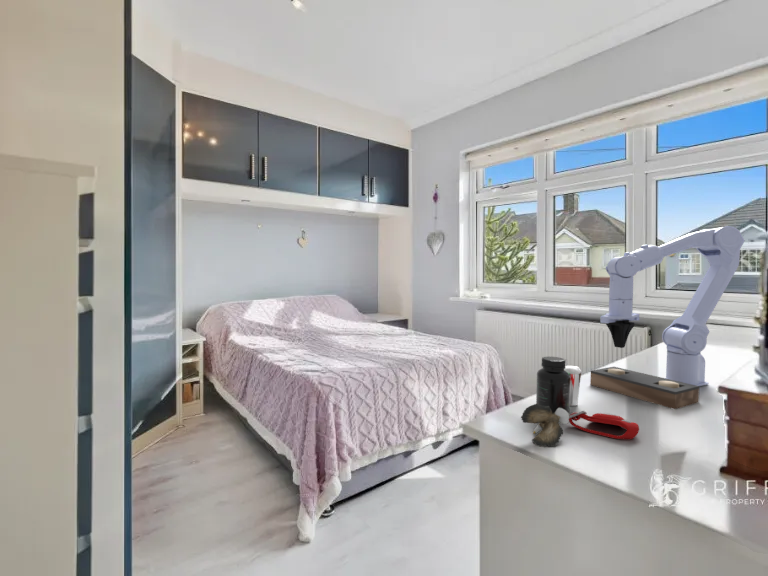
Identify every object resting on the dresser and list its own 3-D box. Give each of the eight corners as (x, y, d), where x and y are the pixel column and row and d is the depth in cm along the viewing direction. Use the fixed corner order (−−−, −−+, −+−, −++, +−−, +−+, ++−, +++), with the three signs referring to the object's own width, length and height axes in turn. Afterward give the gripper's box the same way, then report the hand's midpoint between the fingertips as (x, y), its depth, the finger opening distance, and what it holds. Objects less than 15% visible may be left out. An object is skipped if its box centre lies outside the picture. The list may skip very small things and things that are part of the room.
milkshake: (574, 399, 95) (575, 359, 95) (583, 407, 90) (584, 364, 89) (555, 399, 96) (556, 358, 95) (563, 406, 90) (564, 364, 90)
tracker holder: (605, 413, 84) (650, 419, 74) (605, 435, 83) (651, 443, 73) (560, 406, 80) (601, 411, 71) (559, 429, 79) (601, 437, 70)
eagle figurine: (524, 418, 81) (510, 423, 73) (545, 392, 79) (534, 395, 72) (555, 446, 77) (545, 456, 69) (579, 420, 75) (570, 426, 68)
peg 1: (613, 380, 109) (613, 368, 109) (627, 384, 105) (628, 371, 105) (604, 382, 107) (604, 369, 107) (618, 386, 103) (619, 373, 103)
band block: (613, 380, 112) (613, 366, 112) (698, 402, 93) (699, 386, 93) (590, 384, 107) (590, 370, 107) (674, 409, 89) (675, 392, 88)
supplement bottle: (560, 406, 91) (561, 355, 90) (575, 417, 84) (576, 362, 84) (531, 406, 91) (532, 355, 90) (544, 417, 84) (545, 362, 83)
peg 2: (664, 394, 97) (664, 379, 97) (682, 398, 94) (682, 384, 93) (654, 396, 95) (655, 381, 95) (672, 401, 92) (673, 386, 92)
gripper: (622, 297, 116) (621, 342, 117) (590, 299, 110) (589, 346, 110) (647, 299, 110) (646, 346, 111) (615, 300, 103) (613, 351, 104)
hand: (619, 347), depth 110 cm, fingers closed
